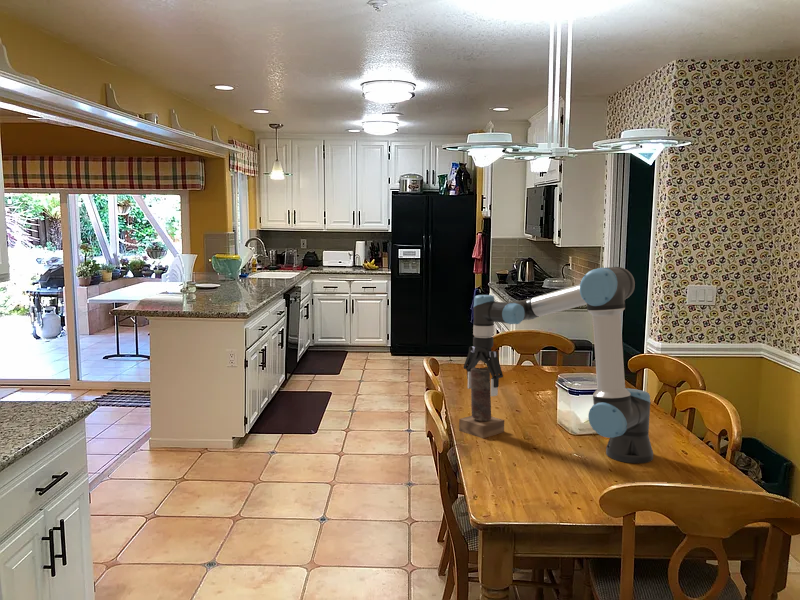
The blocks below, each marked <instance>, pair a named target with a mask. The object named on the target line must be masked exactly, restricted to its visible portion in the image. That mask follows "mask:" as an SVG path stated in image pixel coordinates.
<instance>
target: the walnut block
mask: <svg viewBox="0 0 800 600" xmlns="http://www.w3.org/2000/svg"><path fill="white" fill-rule="evenodd" d="M458 420H459V423H458V424H459V425H458V429H459V432H463V433H465V434H468V435H471V436H474V437H476V438H477V437H478V438H480V439H485V438H489V437H492V436H495V435H499V434H502V433H504V432H505V419H502V418H498V417H496V416H495V417H494V416H491V419H490V420H488V421H486V422H482V421H479V420H476V419H474V418H473V417H472V415H469V416H466V417H463V418H459V419H458Z"/></svg>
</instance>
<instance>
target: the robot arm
mask: <svg viewBox="0 0 800 600" xmlns="http://www.w3.org/2000/svg"><path fill="white" fill-rule="evenodd" d="M635 284H636V282H635V278H634V276H633V274H632V273H631V271H629V270H628V269H626V268H624V267H622V266H621V267H620V266H611V267H609V266H607V267H598V268H594V269H592V270H589V271H587V273H585V274H584V276H583V277H582V278H581V281H580V283H579V284H575V285H572V286H569V287H565V288H562V289H557V290H554V291H551V292H547V293H544V294H541V295H537V296H534V297H530V298H526V299H523V300H515V301H507V302H504V301H495V297H494V295H491V294H478V295H475V296H474V299H473V306H472V307H473V308H472V309H473V327H472V329H473V330H472V332H473V333H472V335H473V337H472V346H469V347H468V353H467V356H466V359H465V361H464V364H463V369H465V370H466V373H467V374H466V379H467V389H469V390H470V389H471V369H472V368H476V366H477V365H478V364H479V362H480V361H481V362H483V363H484V364H485V365H486V366H487V368H488V369H489V371H490V376H491V377H490V397H496V396H498V395H499V393H498V389H499V386H500V385H499V384H500V383H499V381H500V379H501V378H504V374H503V370H502V367H501V364H500V361H499V360H500V359H499V353H498V351H496V350H492V348H493V347H494V324H495V323H501V324H508V325H519V324H521V323H522V322H523V321H527V320H528V321H530V320H534V319H536V318H539V317H543V316H546V315H550V314H554V313H559V312H562V311H567V310H570V309H574V308H579V307H582V306H585V305H586V310H587V311H586V312H588V313H589V315H591V317H592V326H593V327H592V329H593V331H592V332H593V344H594V358H595V373H596V386H597V387H596V390H595V391H594V392H593V394H592V399H593V405H592V406H591V407H590V409H589V411H588V418H587V419H588V421H589V425H590V427H591V428H592V430H593V431H595V432H596V434H598V435H599V436H601V437H604V438H607V439H608V442H607V444H606V448H605V454H606V456H607V457H609V458H611V459H613V460H615V461H617V462H622V463H626V464H627V463H629V464H646V463H650V462H652V461H653V459H654V451H653V449H652V448H653V447H652V444H651V441H650V436H649V433H650V432H649V431H650V412H651V395H650V393H649V392H648V391H645V390H641V389H635V388H629V387H627V388H626V382H625V381H626V380H625V368H624V367H625V366H624V363H625V362H624V349H623V348H624V347H623V334H622V332H623V331H622V320H621V318H622V316H621V314H622V313H623V312H624V310H625V309H626V303H625V301H626V299H628V298H630V296H632V294H633V293H634V291H635V286H636V285H635Z"/></svg>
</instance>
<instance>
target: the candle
mask: <svg viewBox="0 0 800 600" xmlns="http://www.w3.org/2000/svg"><path fill="white" fill-rule="evenodd" d="M491 397H492V396H491V373H490V371H489V369H488V367H486V366H485V367H475V368H472V369H471V391H470V398H471V401H470V402H471V404H470V405H471V416H472V417H473V418H474V419H476V420H479V421H482V422H486V421H488V420H490V419H491V417H492V404H491V403H492V402H491Z"/></svg>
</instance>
